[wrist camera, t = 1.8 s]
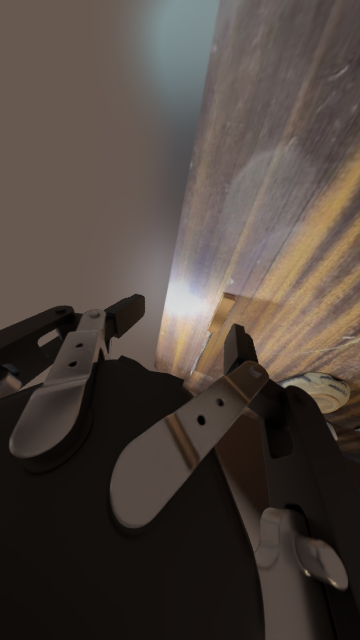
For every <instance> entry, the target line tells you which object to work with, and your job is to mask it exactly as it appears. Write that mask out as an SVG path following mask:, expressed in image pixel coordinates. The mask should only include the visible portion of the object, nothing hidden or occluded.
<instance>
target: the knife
mask: <svg viewBox="0 0 360 640" xmlns="http://www.w3.org/2000/svg"><path fill="white" fill-rule="evenodd" d="M234 303H235V296H233V295H230V294H227V293H223V295H222V297H221V299H220V301H219V303H218V306H217V308H216V310H215V312H214V314H213V316H212V319H211V321H210V323H209V326H208V331H209V332H210V333H209V335H208V337H207V339H206V341H205V343H204V345H203V347H202V349H201V351H200V353H199V355H198V357H197V359H196V361H195V363H194V366H193V368H192V370H191V374H190V376H191V375H192V373H193V371H194V369H195V367H196V365H197V363H198V361H199V359H200V357H201V355H202V353H203V351H204V349H205V347H206V345H207V343H208V341H209V339H210V337H211V336H212V334H213V333H215V334H218V332H219V330H220V329H221V327H222V325H223V323H224V321H225V319H226V318H227V316H228V314H229V312H230V310H231V308H232V307H233V305H234Z"/></svg>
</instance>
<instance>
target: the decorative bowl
mask: <svg viewBox="0 0 360 640" xmlns="http://www.w3.org/2000/svg"><path fill="white" fill-rule="evenodd" d="M277 384H279V385H280V386H282V387H284V388H286V387H287V386H289V385H294V386H297V387H299V388H301V389H303V390H304V391H306V392H307V393H308V394H309V395H310V396H311V397H312V398H313V399H314V400H315V401H316V403H317V404H318V406H319V408H320V410H321V412H322V413H329V412H333V411H335V410H337V409H338V408H340V407H342V406H343V405H344V404H346V402H347V401H348V399H349V397H350V387H349V385H348V384H347V383H345V381H336V380H334V379H333V378H332V377H331V376H330V375H328V374H323V373H313V372H307V373H306V374H305V375H304V376H300V377H296V378H291V379H288V380H285V381H283V382H280V383H277Z"/></svg>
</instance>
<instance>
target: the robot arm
mask: <svg viewBox="0 0 360 640" xmlns="http://www.w3.org/2000/svg"><path fill="white" fill-rule="evenodd" d="M144 313H145V297H144V296H142V295H139V294H134V295H133V296H131V297H128V298H125V299H122V300H120V301H119V302H117V303H116V304H114V305H112V306H110V307H108V308H107V309H105V310H99V309H95V310H89V311H87V312H85V313H84V314H79V313H75V312H74V309H73V308H72V307H71V306H57V307H53V308H51V309H49V310H46V311H44V312H42V313H39V314H37V315H35V316H32V317H30V318H28V319H25V320H23V321H21V322H19V323H16V324H14V325H11V326H9V327H6V328H4V329H2V330H0V640H360V489H359V487H358V485H357V483H356V480H355V479H354V476H353V474H352V472H351V470H350V469H349V467H348V464H347V462H346V460H345V458H344V456H343V454H342V452H341V450H340V448H339V446H338V444H337V442H336V440H335V438H334V436H333V434H332V432H331V430H330V428H329V426H328V424H327V422H326V420H325V418H324V416H323V414H322V412H321V410H320V408H319V406H318V404H317V403H316V401H315V400H314V399H313V398H312V397H311V396H310V395H309V394H308V393H307V392H306V391H304V390H303V389H301V388H299V387H297V386H294V385H289V386H287V387H286V388H284V387H282V386H280V385H279V384H277V383H276V382H274V381H272V380H271V379H269V375H268V373H267V371H266V370H265V369H264V368H263V367H262V366H261V365H260V364H259V363H258V359H257V355H256V351H255V347H254V343H253V339H252V338H251V337H250V335H249V334H246V333H245V329H244V326H241V325H238V324H235V323H234V324H233V325H232V327H231V329H230V331H229V333H228V335H227V337H226V339H225V343H224V375H223V376H222V377H221V378H219V379H218V380H217V381H215V382H214V383H213V384H211V385H210V386H209V387H207V388H206V389H205V390H203V391H202V392H201V393H199V394H198V395H197V396H195V397H194V396H193V395H192V394H191V392H189V390H188V389H187V388H186V387H184V386H183V382H184V380H183V379H181V378H178V377H176V376H173V375H171V374H168V373H161V372H153V371H149V370H147V369H146V368H145V367H143V366H142V365H141V364H139V363H138V362H137V361H135V360H133V359H130V358H127V357H125V356H122V355H121V356H120V358H119V359H118V360H110V353H111V342H112V340H111V338H112V337H113V336H114V337H116V338H120V337H121V336H122V335H123V334H124V333H126V332H127V331H128V330H129V329H130V328H131V327H132V326H133V325H134V324H135V323H137V322H138V321H139V320H140V319H141V318H142V317H143V315H144ZM54 329H56V331H57V333H58V335H59V336H58V337H56V338H54V339H53V340H51V341H50V342H48V343H46V344H45V345H43V346H41V347H39V345H38V340H39V338H40V337H42V336H43V335H45V334H47V333H48V332H51V331H52V330H54ZM52 364H53V366H52V368H51V370H50V372H49V374H48V376H47V378H46V380H45V382H43V383H40V384H37V385H35V386H32V387H29V388H27V389H24V390H21V391H19V390H20V389H21V388H22V387H23V386H25V385H26V384H27V383H29V382H30V381H31V380H33V379H34V378H35V377H36V376H38V375H39V374H40V373H42V372H43V371H44V370H46V369H47V368H48V367H49V366H51V365H52ZM247 407H248V408H250V409H251V410H252V411H254V412H255V413H256V414H258V415H259V423H260V431H261V439H262V446H263V454H264V462H265V470H266V478H267V486H268V494H269V501H270V508H267V509H266V510H265V511H264V512H263V514H262V517H261V522H260V541H259V545H258V548H257V550H256V551H255V553H254V551H253V548H252V545H251V542H250V539H249V536H248V533H247V531H246V528H245V525H244V523H243V520H242V518H241V515H240V512H239V510H238V507H237V505H236V502H235V499H234V497H233V494H232V492H231V489H230V486H229V484H228V481H227V479H226V476H225V474H224V471H223V468H222V465H221V463H220V460H219V458H218V455H217V452H216V450H215V447H214V445H215V444H216V443H217V442H218V441H219V440H220V438H221V437H222V436H223V435H224V434H225V433H226V431H227V430H228V429H229V428H230V427H231V426H232V424H233V423H234V422H235V421H236V420H237V418H238V417H239V416H240V415H241V414H242V413H243V412H244V410H245V409H246V408H247Z"/></svg>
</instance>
